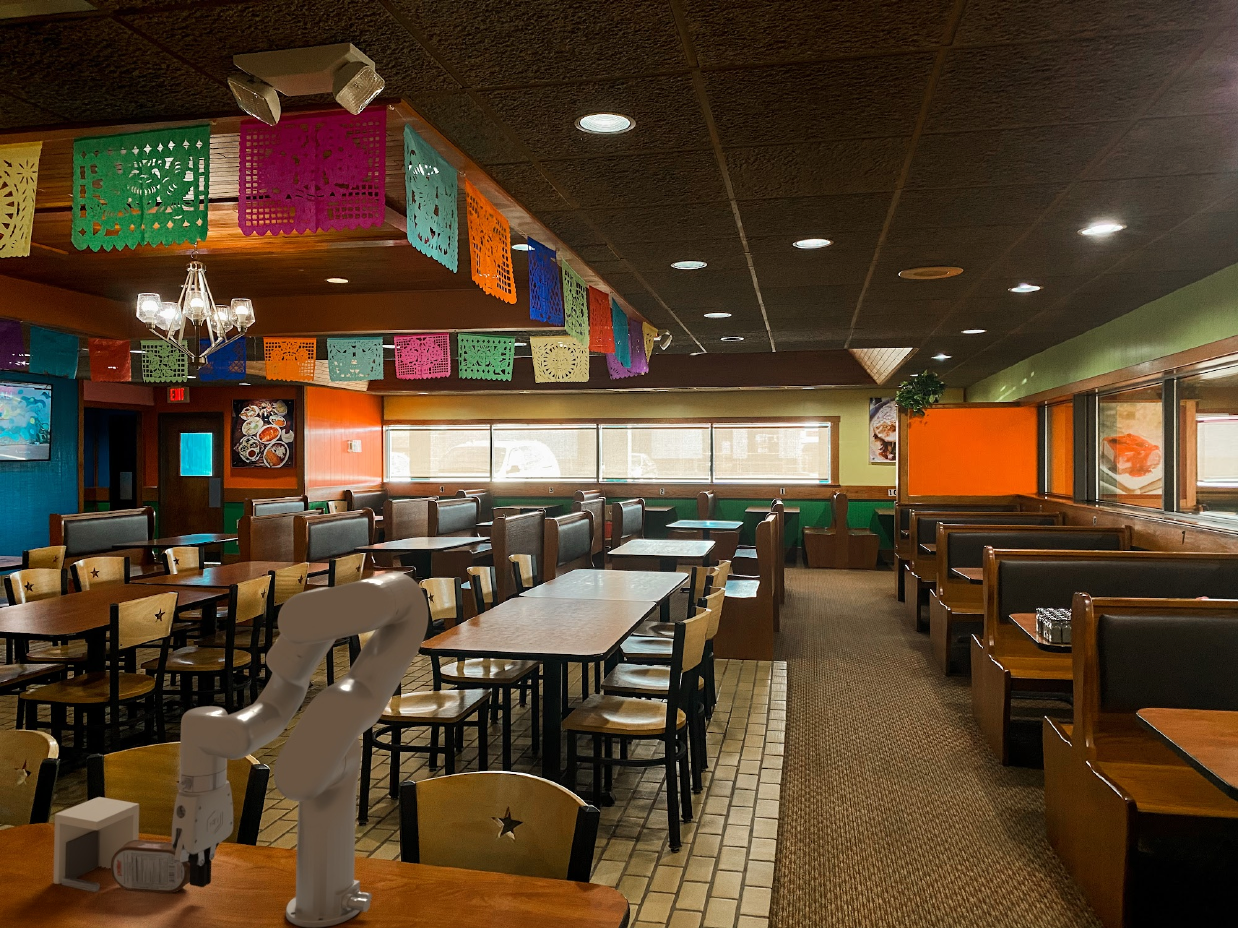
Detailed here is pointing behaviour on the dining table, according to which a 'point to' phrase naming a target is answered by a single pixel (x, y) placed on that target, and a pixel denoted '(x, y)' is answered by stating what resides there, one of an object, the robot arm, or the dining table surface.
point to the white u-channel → (91, 838)
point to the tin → (149, 867)
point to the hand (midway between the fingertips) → (200, 883)
